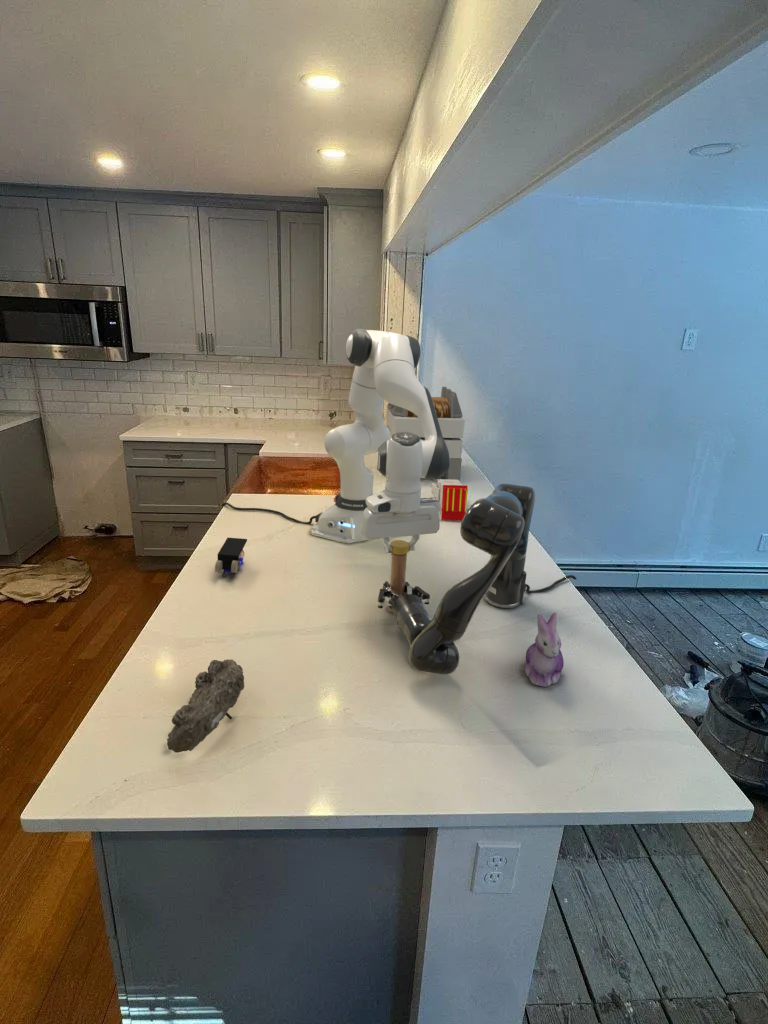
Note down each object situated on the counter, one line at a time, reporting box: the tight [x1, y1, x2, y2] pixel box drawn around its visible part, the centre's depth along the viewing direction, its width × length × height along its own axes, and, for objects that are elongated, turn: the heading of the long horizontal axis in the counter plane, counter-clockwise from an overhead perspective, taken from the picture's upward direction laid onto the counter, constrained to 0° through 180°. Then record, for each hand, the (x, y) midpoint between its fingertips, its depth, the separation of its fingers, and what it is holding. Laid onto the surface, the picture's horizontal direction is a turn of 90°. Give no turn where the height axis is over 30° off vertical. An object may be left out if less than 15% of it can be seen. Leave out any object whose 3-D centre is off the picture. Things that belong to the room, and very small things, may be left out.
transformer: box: [385, 386, 465, 482], centre depth 268 cm, size 34×33×41 cm
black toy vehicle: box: [214, 537, 248, 578], centre depth 166 cm, size 7×8×15 cm
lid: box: [389, 539, 410, 555], centre depth 144 cm, size 5×5×2 cm
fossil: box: [166, 658, 245, 754], centre depth 106 cm, size 22×10×15 cm
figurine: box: [524, 611, 565, 688], centre depth 122 cm, size 9×10×15 cm
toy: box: [431, 478, 469, 522], centre depth 226 cm, size 12×13×30 cm
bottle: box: [388, 553, 408, 613], centre depth 147 cm, size 4×4×18 cm
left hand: (399, 551), depth 144 cm, fingers closed on lid, 4 cm apart
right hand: (394, 583), depth 150 cm, fingers closed on bottle, 4 cm apart
